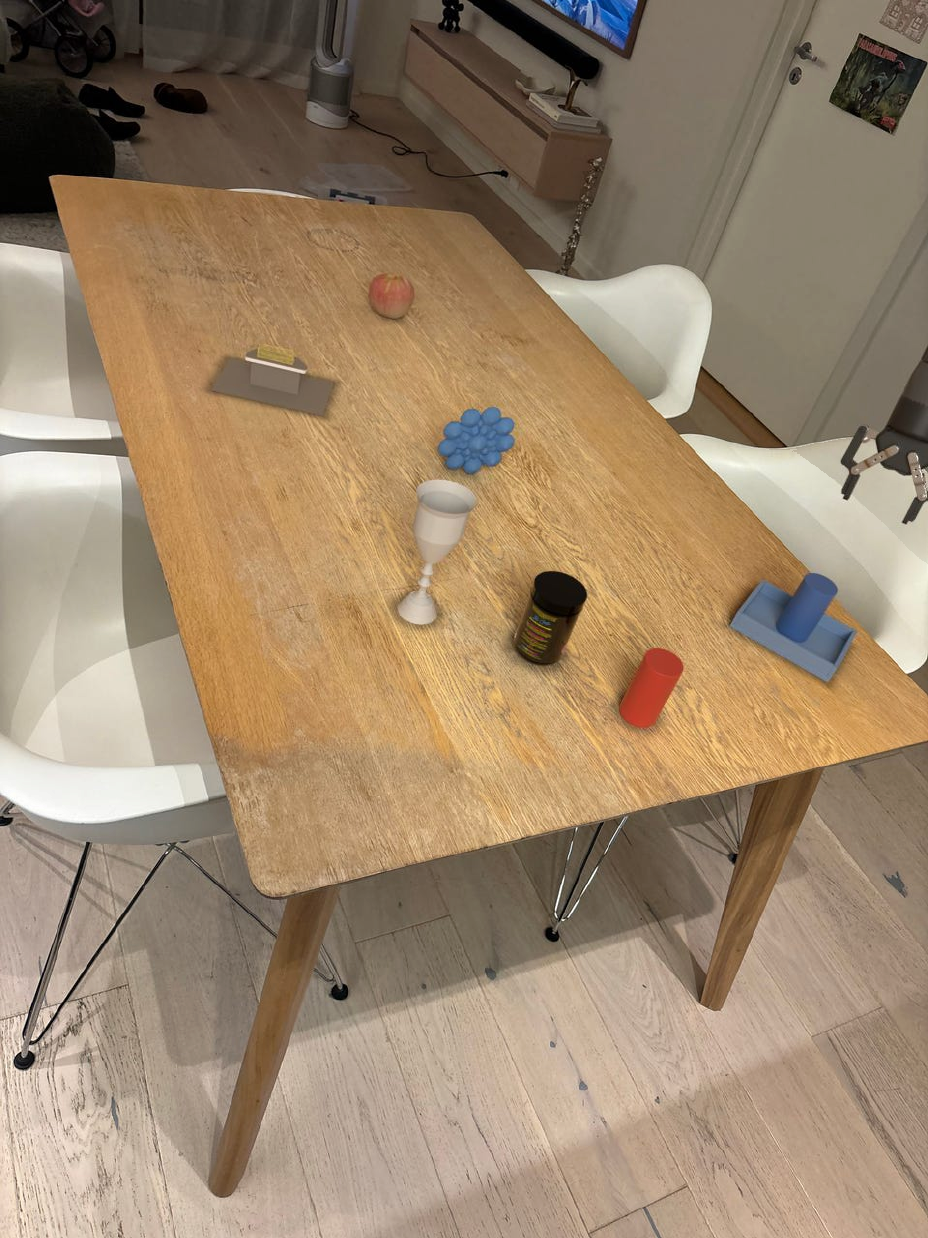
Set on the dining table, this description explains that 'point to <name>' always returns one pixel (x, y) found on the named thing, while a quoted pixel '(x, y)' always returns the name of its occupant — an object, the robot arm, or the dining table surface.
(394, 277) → the apple
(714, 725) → the dining table surface
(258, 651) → the dining table surface
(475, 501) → the chalice
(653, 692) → the red pin
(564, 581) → the supplement container
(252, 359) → the platform
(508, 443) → the blue bubble cluster
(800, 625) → the blue pin
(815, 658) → the blue tray
